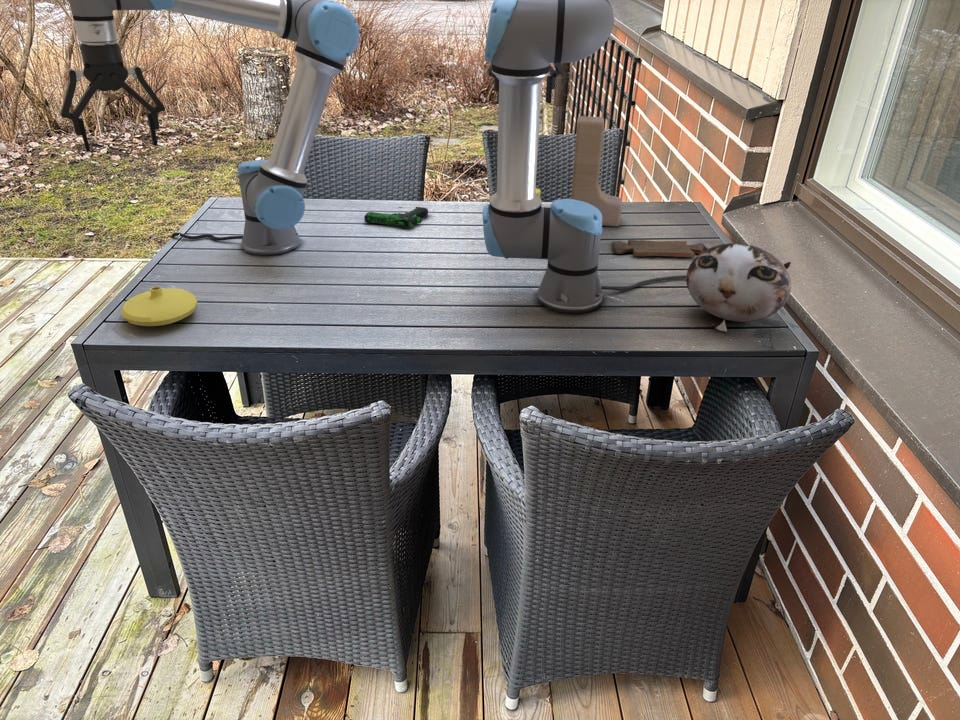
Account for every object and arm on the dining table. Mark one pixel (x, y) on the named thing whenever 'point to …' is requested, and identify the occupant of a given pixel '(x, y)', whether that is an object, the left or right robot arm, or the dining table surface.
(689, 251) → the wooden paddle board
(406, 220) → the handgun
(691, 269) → the plush toy
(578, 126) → the decorative block
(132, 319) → the vase
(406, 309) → the dining table surface
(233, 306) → the dining table surface
